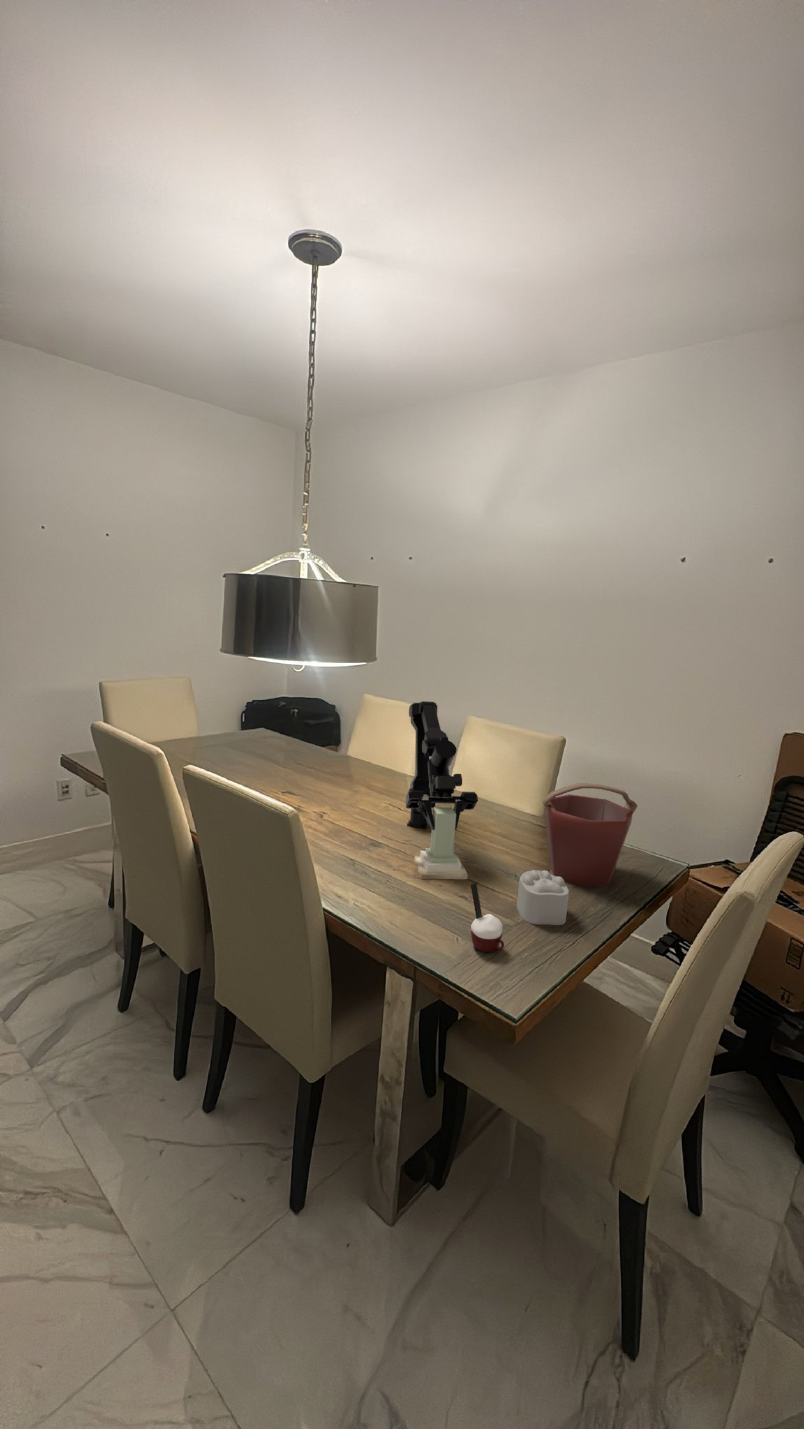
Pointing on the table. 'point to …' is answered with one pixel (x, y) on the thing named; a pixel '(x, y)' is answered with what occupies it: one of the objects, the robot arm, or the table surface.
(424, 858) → the whitewashed top slab
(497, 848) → the table surface
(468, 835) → the table surface
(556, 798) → the bucket
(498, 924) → the cocoa
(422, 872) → the ash base slab
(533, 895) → the white paw print block
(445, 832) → the sage pillar
